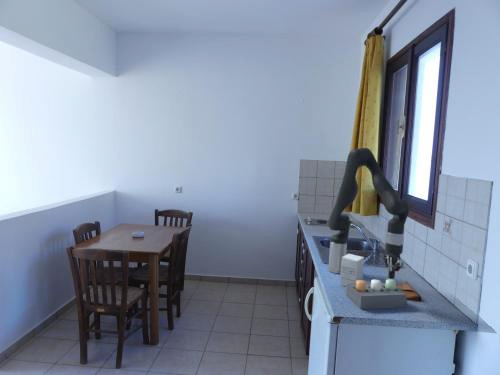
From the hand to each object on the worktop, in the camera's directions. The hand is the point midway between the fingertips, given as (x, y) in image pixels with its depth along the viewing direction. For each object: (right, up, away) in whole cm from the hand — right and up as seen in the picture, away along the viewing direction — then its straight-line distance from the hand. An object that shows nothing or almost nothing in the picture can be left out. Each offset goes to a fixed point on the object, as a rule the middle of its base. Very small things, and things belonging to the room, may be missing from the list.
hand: (391, 278), depth 162 cm
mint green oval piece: (0, -7, +1) cm, 7 cm away
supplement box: (-13, -9, +19) cm, 25 cm away
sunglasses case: (+12, -11, +11) cm, 19 cm away
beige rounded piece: (-15, -6, -2) cm, 16 cm away
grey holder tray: (-8, -11, 0) cm, 13 cm away
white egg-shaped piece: (-8, -7, 0) cm, 10 cm away
